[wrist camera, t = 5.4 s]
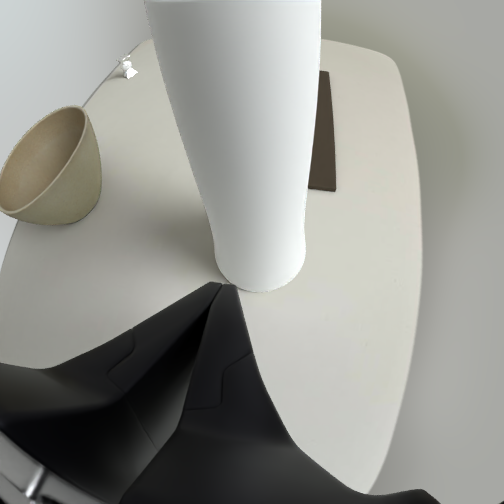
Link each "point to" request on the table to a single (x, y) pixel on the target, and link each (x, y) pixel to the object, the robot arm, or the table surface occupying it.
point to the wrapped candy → (126, 65)
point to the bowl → (53, 170)
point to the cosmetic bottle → (245, 123)
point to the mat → (323, 140)
